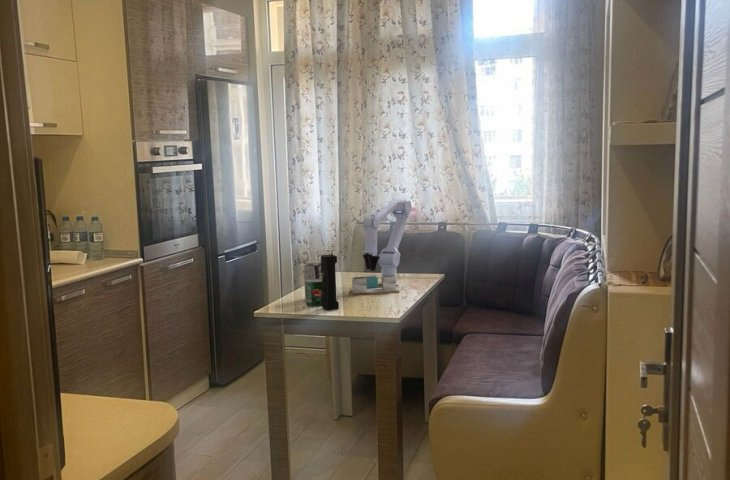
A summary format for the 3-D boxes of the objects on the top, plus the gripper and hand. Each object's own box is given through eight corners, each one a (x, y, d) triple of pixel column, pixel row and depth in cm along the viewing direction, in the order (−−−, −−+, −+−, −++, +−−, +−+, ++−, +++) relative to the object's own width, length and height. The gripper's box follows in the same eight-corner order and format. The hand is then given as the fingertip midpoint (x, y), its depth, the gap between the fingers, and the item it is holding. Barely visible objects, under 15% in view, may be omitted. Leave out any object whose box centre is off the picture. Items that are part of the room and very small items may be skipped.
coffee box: (318, 301, 305) (317, 265, 304) (304, 301, 307) (303, 265, 305) (324, 297, 314) (322, 262, 312) (310, 297, 316) (309, 262, 314)
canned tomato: (311, 303, 303) (310, 278, 301) (327, 303, 300) (326, 278, 299) (303, 306, 295) (302, 281, 294) (319, 307, 292) (318, 282, 291)
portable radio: (319, 307, 292) (317, 249, 289) (333, 306, 294) (331, 248, 292) (325, 311, 285) (323, 251, 282) (339, 309, 287) (336, 250, 284)
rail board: (349, 292, 325) (349, 276, 324) (395, 289, 329) (394, 273, 328) (352, 295, 316) (352, 279, 316) (399, 292, 320) (399, 276, 319)
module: (364, 288, 333) (363, 276, 332) (376, 288, 334) (375, 275, 333) (365, 290, 328) (365, 277, 328) (378, 289, 329) (377, 276, 329)
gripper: (359, 240, 335) (359, 268, 335) (366, 242, 321) (366, 271, 321) (373, 240, 336) (373, 268, 337) (381, 242, 322) (380, 271, 323)
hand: (370, 269), depth 329 cm, fingers open, 7 cm apart
